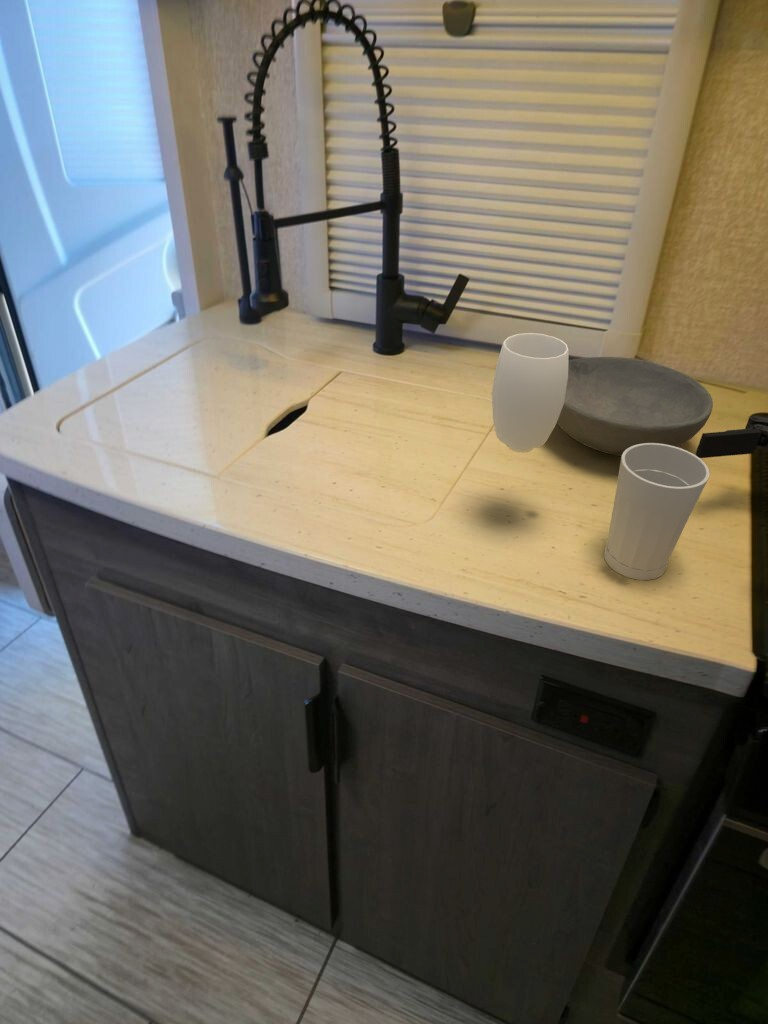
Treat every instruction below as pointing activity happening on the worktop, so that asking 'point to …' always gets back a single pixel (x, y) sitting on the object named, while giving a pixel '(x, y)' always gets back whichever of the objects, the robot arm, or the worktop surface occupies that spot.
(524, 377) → the cup
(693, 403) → the bowl
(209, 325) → the worktop surface
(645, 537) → the cup
